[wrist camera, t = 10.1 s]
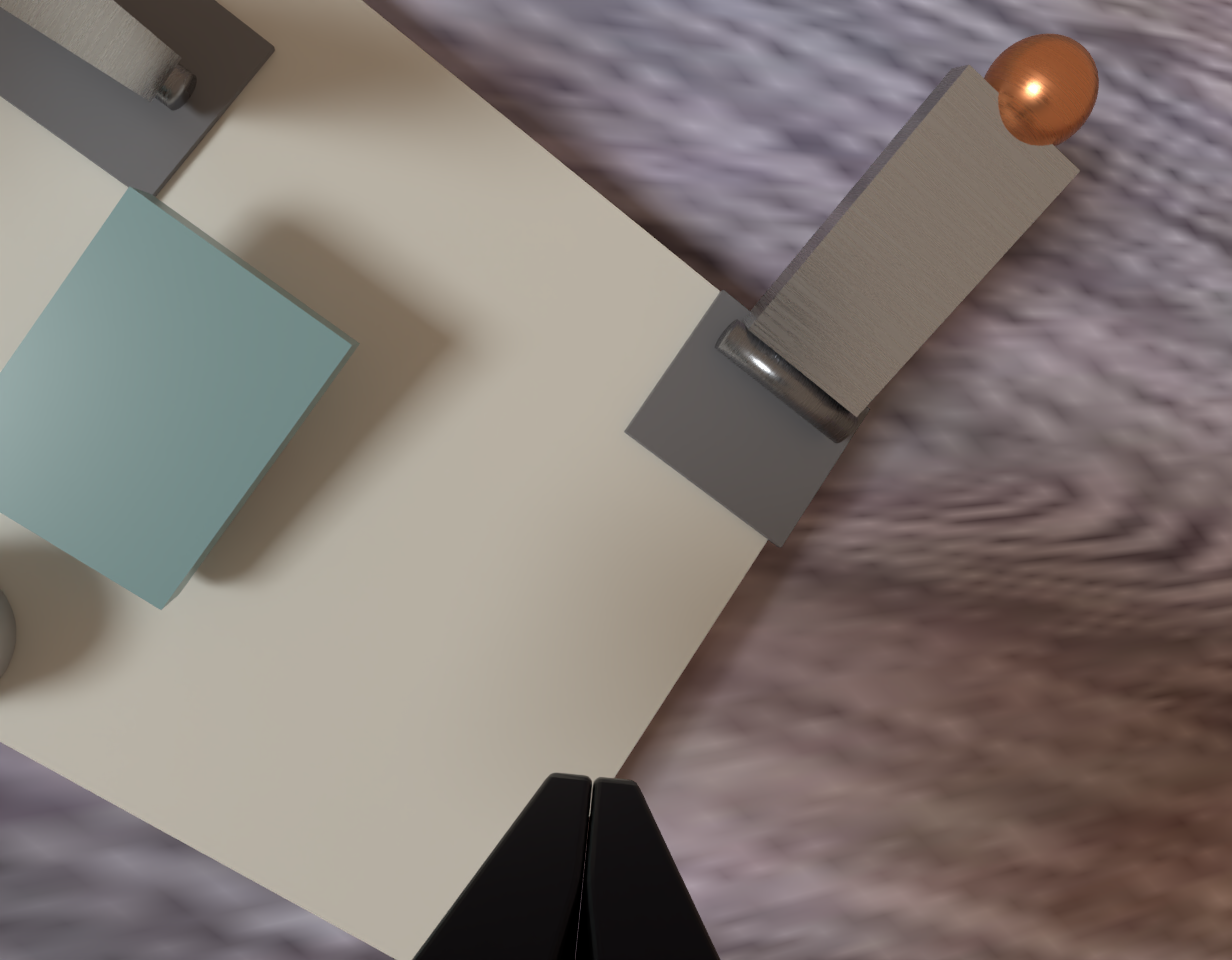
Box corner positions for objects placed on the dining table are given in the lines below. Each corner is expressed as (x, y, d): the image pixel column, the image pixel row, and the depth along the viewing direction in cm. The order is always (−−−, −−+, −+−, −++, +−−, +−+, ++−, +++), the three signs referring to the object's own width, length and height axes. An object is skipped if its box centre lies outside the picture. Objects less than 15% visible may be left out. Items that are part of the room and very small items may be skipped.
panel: (472, 958, 21) (486, 1029, 19) (-410, 462, 17) (-558, 460, 14) (825, 414, 24) (883, 407, 21) (127, -144, 19) (87, -245, 17)
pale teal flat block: (179, 593, 17) (161, 610, 16) (-36, 461, 17) (-69, 470, 16) (360, 343, 17) (351, 345, 16) (151, 194, 16) (130, 186, 15)
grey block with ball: (845, 458, 20) (1169, 104, 17) (719, 358, 19) (1040, -26, 17) (823, 428, 22) (1110, 108, 19) (709, 337, 21) (993, -7, 19)
